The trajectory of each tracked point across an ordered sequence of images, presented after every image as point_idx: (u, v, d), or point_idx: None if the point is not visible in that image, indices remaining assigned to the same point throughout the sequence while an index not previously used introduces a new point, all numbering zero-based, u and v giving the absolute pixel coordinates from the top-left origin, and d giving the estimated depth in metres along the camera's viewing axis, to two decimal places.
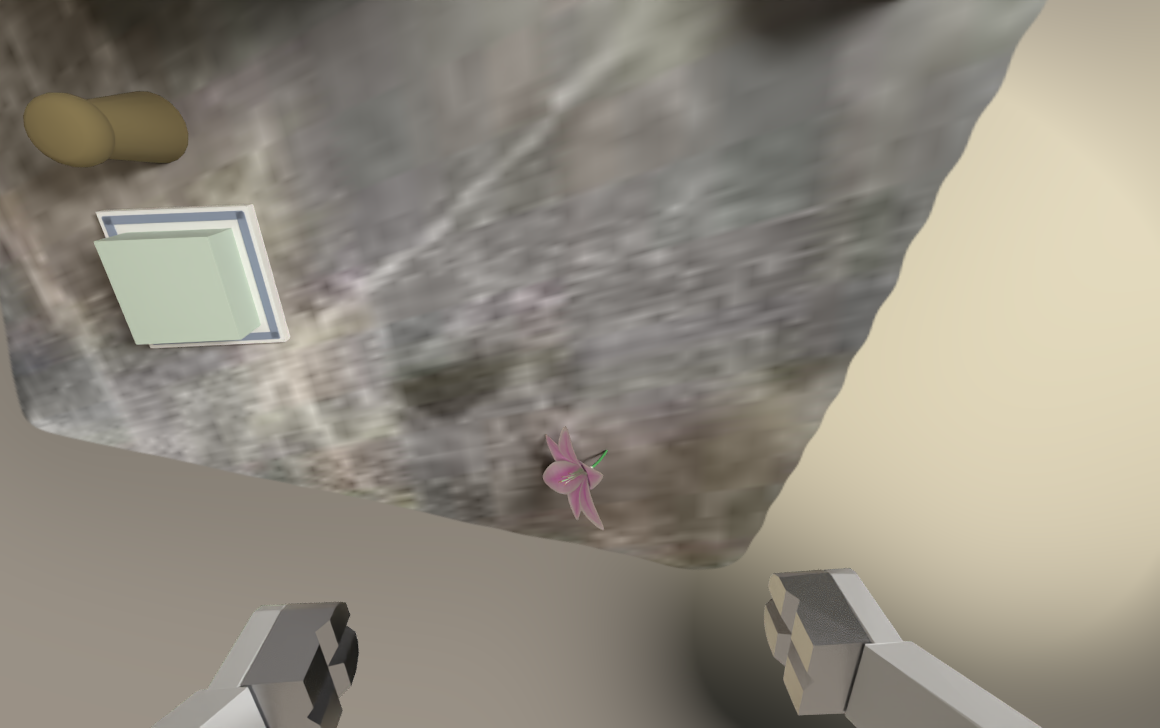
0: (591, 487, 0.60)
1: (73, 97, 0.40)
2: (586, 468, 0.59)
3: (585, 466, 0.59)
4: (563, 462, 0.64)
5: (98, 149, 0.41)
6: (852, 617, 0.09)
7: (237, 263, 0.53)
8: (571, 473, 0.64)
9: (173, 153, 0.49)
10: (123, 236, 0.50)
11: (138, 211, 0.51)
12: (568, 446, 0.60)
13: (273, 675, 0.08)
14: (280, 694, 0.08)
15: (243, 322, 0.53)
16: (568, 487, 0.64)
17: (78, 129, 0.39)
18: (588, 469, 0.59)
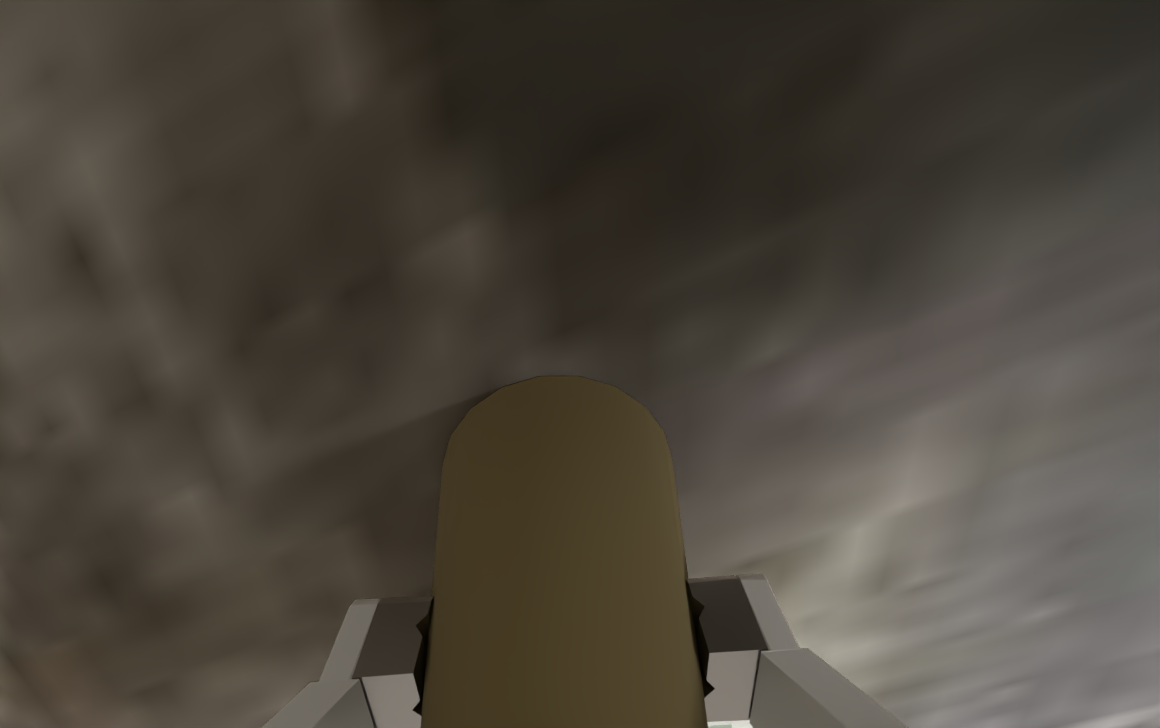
0: None
1: None
2: None
3: None
4: None
5: None
6: (755, 624, 0.09)
7: None
8: None
9: None
10: None
11: None
12: None
13: (381, 667, 0.08)
14: (389, 686, 0.08)
15: None
16: None
17: None
18: None
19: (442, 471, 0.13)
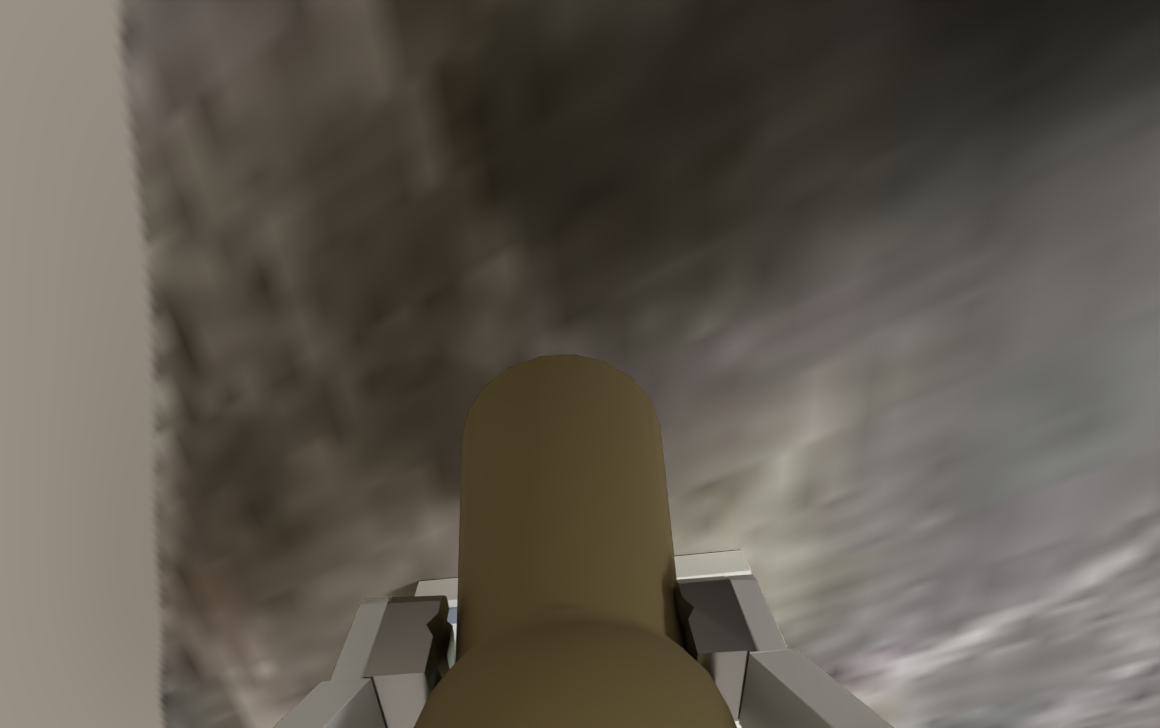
0: None
1: (663, 704, 0.07)
2: None
3: None
4: None
5: None
6: (744, 624, 0.09)
7: None
8: None
9: None
10: None
11: None
12: None
13: (393, 667, 0.08)
14: (400, 686, 0.08)
15: None
16: None
17: None
18: None
19: (462, 441, 0.16)
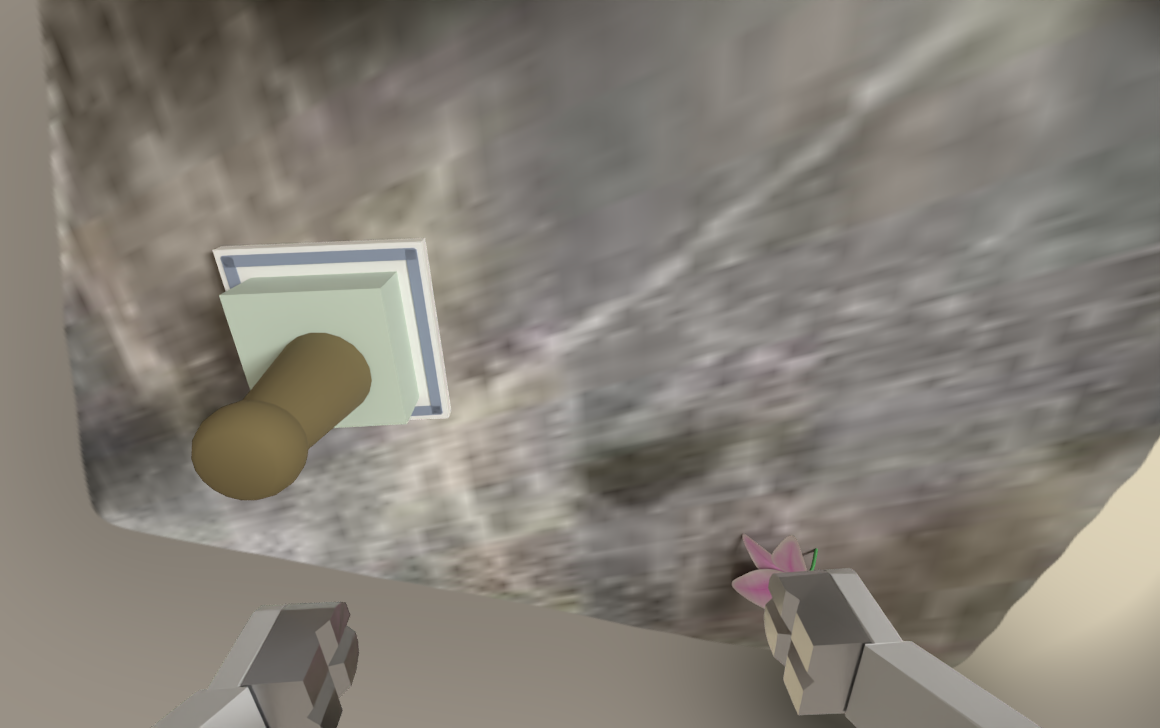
0: None
1: (263, 413, 0.27)
2: None
3: None
4: (771, 571, 0.50)
5: (292, 478, 0.27)
6: (852, 617, 0.09)
7: (402, 319, 0.38)
8: None
9: (353, 409, 0.36)
10: (254, 285, 0.35)
11: (271, 249, 0.36)
12: (792, 559, 0.46)
13: (273, 675, 0.08)
14: (280, 694, 0.08)
15: (407, 399, 0.39)
16: None
17: (271, 465, 0.26)
18: None
19: None
